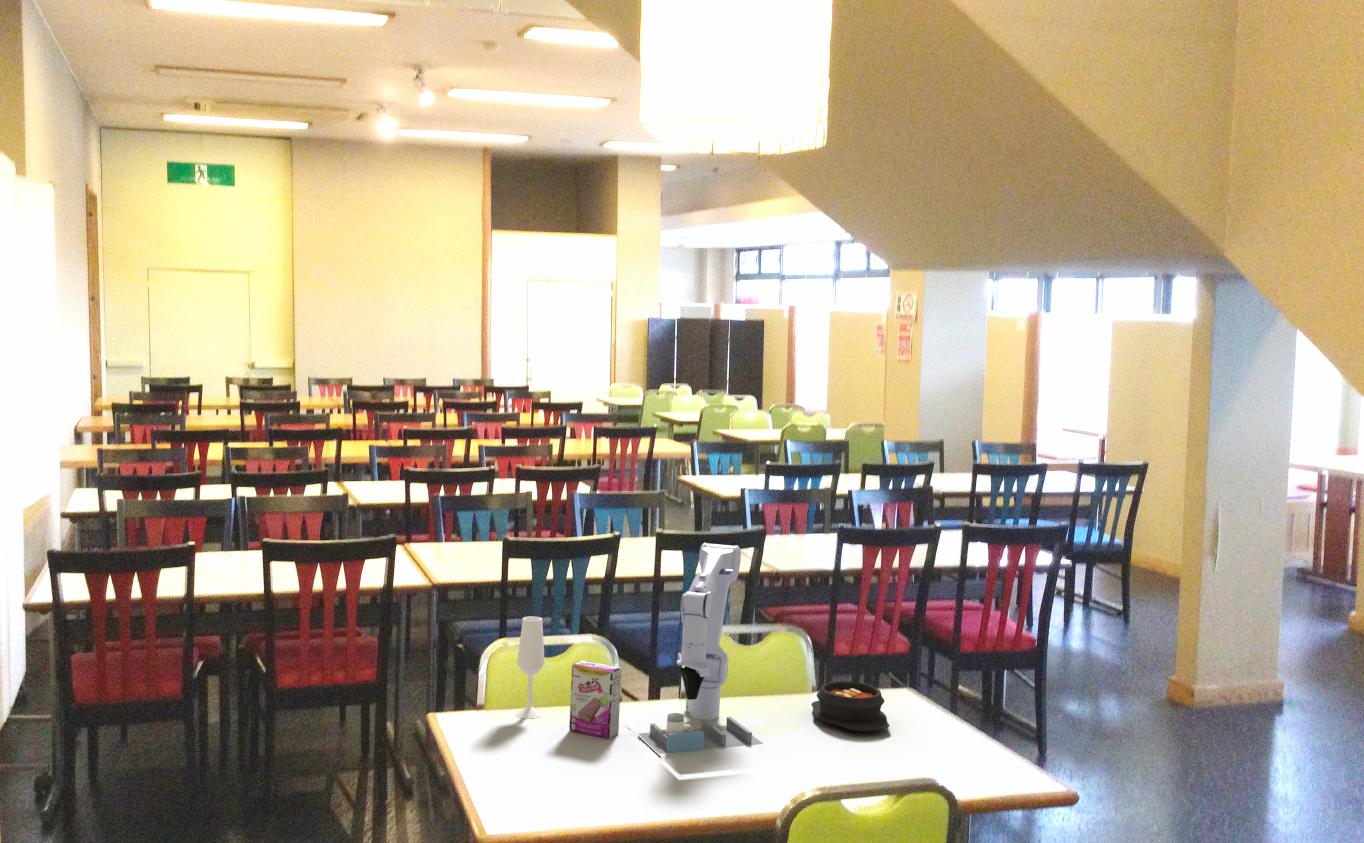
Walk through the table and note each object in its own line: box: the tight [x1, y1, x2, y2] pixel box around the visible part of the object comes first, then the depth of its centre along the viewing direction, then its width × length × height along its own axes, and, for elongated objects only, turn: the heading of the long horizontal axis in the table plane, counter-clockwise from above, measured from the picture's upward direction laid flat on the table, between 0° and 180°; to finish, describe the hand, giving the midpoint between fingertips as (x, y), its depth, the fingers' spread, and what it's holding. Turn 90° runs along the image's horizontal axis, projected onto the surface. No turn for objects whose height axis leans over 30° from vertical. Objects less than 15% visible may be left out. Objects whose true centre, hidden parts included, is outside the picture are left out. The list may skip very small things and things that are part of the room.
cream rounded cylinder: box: [666, 712, 685, 734], centre depth 280 cm, size 4×4×6 cm
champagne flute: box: [515, 616, 545, 720], centre depth 297 cm, size 7×7×24 cm
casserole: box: [811, 681, 890, 732], centre depth 304 cm, size 25×19×8 cm
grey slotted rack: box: [637, 716, 764, 759], centre depth 283 cm, size 14×26×5 cm, turn 112°
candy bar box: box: [569, 659, 622, 740], centre depth 286 cm, size 11×5×16 cm, turn 65°
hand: (691, 698), depth 286 cm, fingers closed
